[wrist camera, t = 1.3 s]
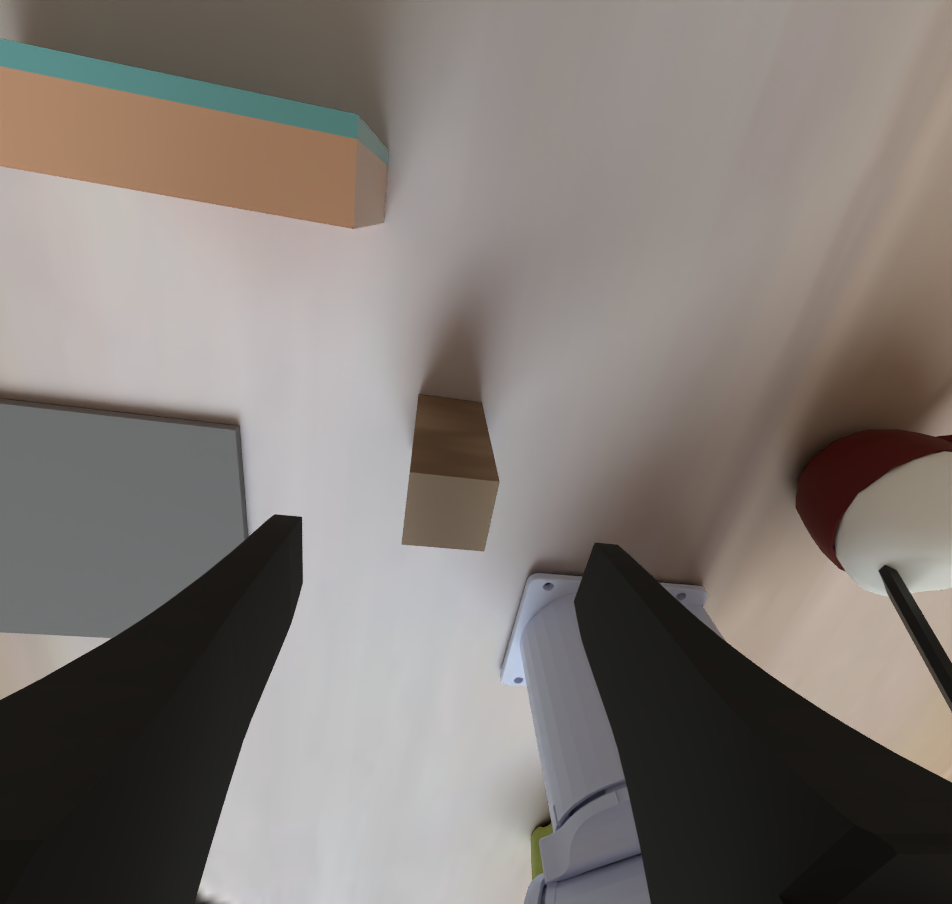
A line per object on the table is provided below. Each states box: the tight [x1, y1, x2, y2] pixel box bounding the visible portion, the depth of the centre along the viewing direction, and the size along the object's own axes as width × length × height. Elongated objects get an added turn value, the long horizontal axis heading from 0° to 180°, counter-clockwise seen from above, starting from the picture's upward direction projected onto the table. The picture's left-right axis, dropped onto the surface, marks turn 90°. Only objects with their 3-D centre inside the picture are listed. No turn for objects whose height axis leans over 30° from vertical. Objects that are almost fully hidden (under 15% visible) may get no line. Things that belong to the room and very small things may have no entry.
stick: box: [402, 394, 499, 551], centre depth 16 cm, size 2×2×6 cm
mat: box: [0, 399, 248, 638], centre depth 19 cm, size 12×12×1 cm
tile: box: [0, 39, 389, 229], centre depth 11 cm, size 10×2×6 cm, turn 80°
